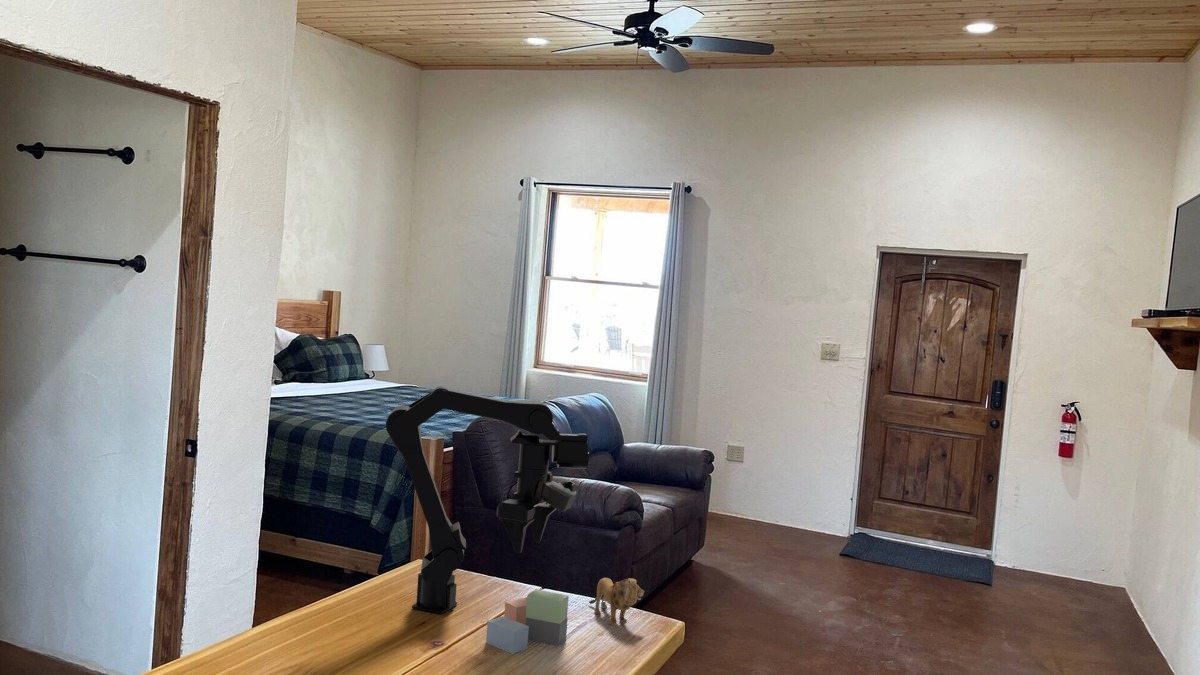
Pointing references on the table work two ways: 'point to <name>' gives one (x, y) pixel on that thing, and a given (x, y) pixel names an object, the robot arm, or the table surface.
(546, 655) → the table surface
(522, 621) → the terracotta brick
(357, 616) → the table surface
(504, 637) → the slate blue brick
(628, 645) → the table surface
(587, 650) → the table surface
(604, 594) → the lion figurine
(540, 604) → the green brick
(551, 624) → the charcoal brick
